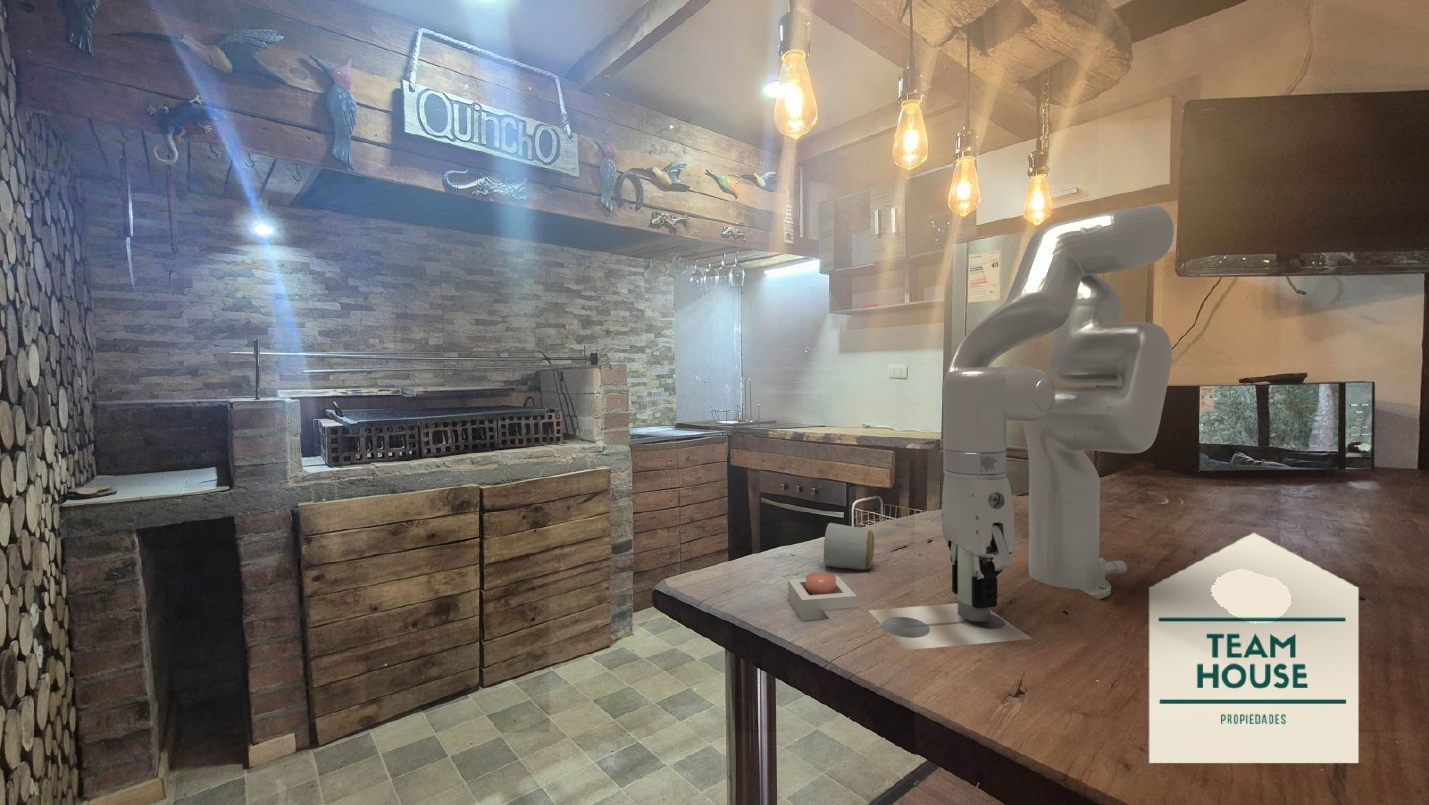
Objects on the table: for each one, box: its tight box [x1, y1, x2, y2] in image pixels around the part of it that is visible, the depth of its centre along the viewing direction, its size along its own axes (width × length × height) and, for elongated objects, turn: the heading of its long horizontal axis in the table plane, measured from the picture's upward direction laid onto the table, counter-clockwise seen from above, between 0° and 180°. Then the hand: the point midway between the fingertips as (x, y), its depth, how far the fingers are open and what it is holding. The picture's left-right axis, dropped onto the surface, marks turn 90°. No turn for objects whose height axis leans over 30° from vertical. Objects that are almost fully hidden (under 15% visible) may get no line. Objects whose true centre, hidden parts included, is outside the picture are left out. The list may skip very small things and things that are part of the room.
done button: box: [805, 571, 836, 595], centre depth 84 cm, size 4×4×2 cm
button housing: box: [787, 575, 858, 622], centre depth 85 cm, size 8×8×3 cm
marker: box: [957, 545, 992, 621], centre depth 75 cm, size 4×4×11 cm
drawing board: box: [868, 602, 1033, 651], centre depth 75 cm, size 18×13×1 cm
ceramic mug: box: [823, 522, 875, 571], centre depth 103 cm, size 11×8×8 cm
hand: (973, 598), depth 76 cm, fingers closed on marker, 3 cm apart
